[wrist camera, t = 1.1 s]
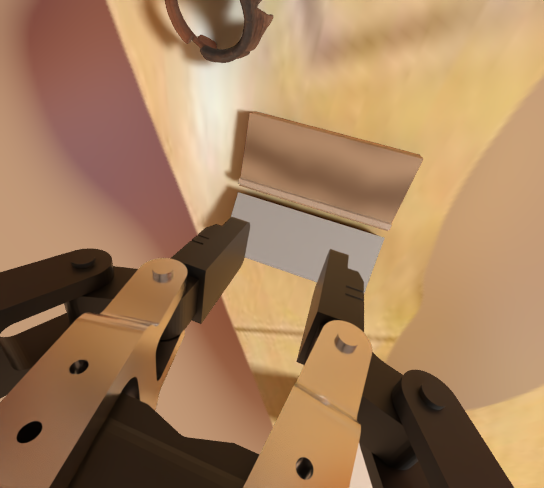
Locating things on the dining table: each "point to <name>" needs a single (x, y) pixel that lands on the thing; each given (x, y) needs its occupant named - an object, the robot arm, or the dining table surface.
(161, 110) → the dining table surface
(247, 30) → the pottery mug
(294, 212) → the slate plank
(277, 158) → the glossy brown slab
